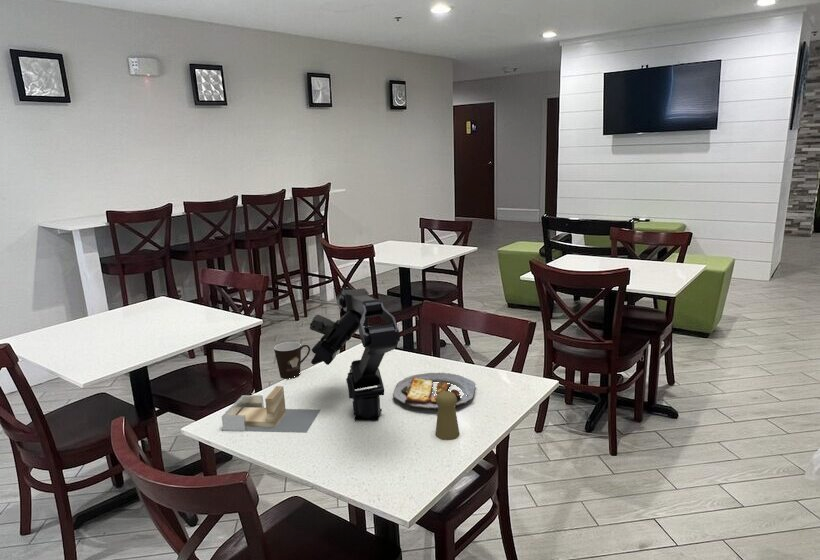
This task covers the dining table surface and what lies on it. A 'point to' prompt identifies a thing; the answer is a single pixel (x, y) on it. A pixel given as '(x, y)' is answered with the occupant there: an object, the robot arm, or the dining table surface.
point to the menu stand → (267, 410)
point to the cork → (446, 416)
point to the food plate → (431, 389)
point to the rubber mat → (291, 422)
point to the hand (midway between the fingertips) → (312, 363)
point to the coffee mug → (289, 359)
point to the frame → (232, 418)
